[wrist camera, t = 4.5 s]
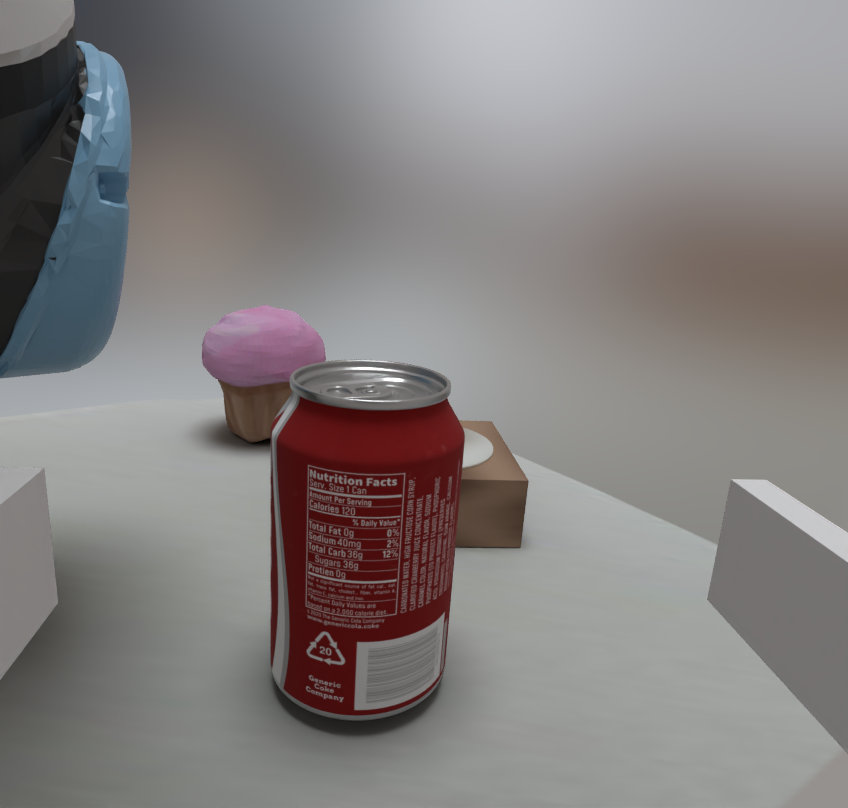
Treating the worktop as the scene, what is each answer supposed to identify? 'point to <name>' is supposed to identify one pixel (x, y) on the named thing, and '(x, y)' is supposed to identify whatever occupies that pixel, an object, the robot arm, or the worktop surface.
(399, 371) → the soda can
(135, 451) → the worktop surface
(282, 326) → the cupcake
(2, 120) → the robot arm
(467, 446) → the plinth
